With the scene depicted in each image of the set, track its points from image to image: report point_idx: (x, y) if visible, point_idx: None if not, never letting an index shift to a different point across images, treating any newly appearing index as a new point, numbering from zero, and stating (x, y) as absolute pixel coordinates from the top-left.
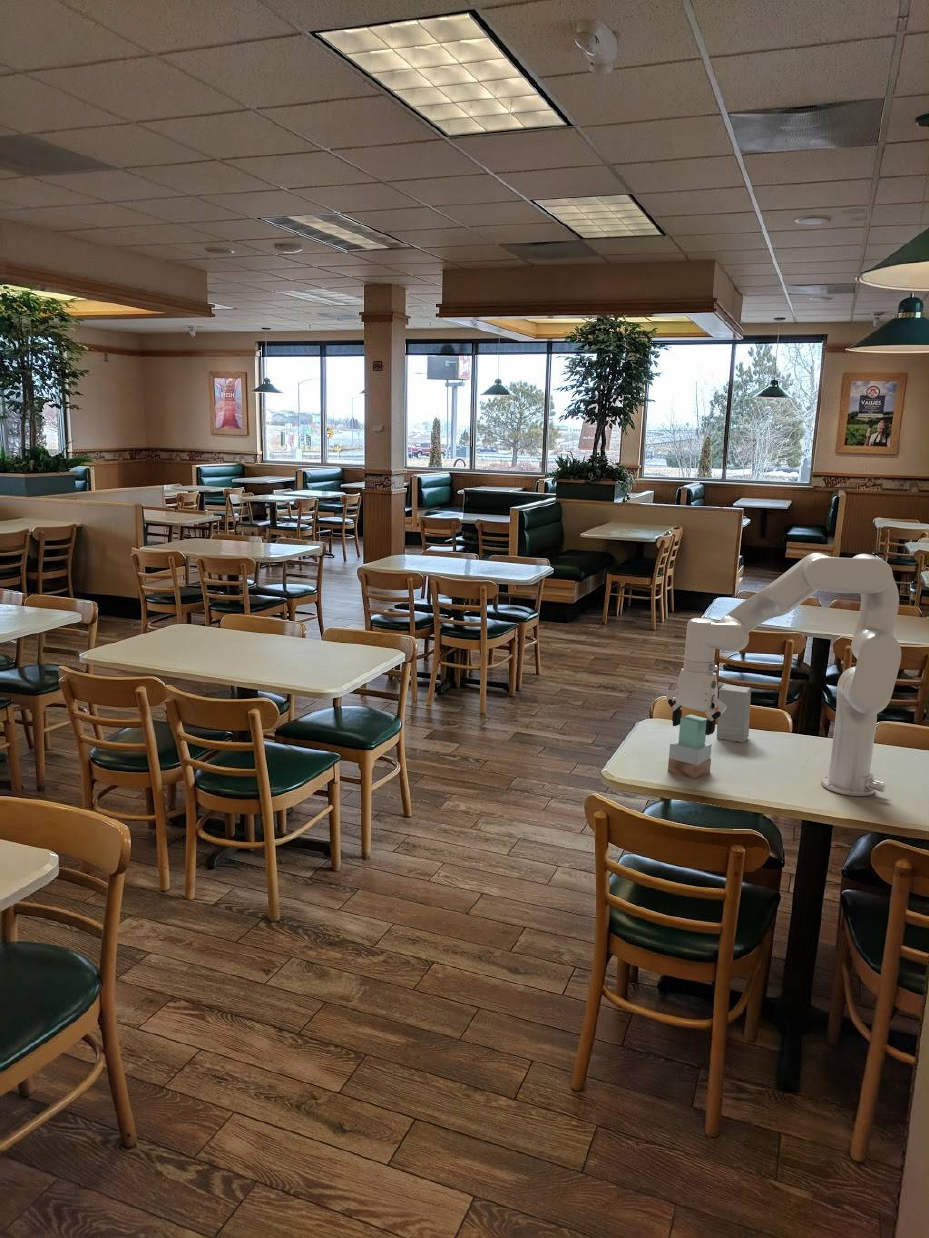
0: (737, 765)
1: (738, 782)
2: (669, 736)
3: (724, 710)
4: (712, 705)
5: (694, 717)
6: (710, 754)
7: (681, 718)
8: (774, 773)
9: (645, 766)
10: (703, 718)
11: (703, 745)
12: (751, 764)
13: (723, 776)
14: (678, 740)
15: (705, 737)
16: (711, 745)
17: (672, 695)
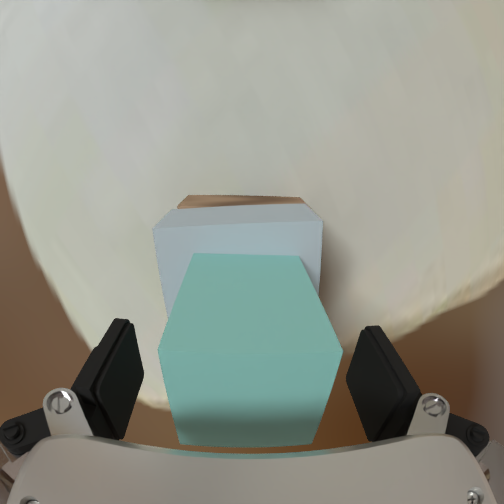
0: (338, 58)
1: (401, 221)
2: (40, 10)
3: (500, 452)
4: (433, 455)
5: (238, 395)
6: (309, 208)
7: (186, 442)
8: (440, 68)
9: (129, 307)
10: (310, 367)
11: None
12: (363, 23)
13: (351, 204)
14: (171, 300)
15: (307, 274)
16: (320, 218)
17: (4, 478)
